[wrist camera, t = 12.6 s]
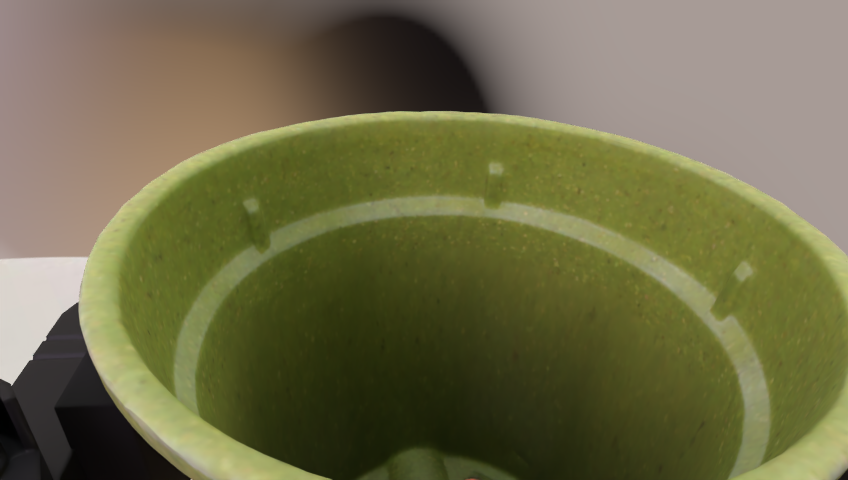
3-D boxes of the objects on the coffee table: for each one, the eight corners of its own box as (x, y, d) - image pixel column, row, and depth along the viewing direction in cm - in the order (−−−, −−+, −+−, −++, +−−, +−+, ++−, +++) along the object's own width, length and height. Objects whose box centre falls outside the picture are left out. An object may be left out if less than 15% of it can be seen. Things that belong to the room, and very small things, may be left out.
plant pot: (378, 365, 18) (374, 81, 13) (708, 506, 14) (857, 171, 9) (96, 670, 10) (-115, 274, 6) (617, 1140, 7) (1057, 980, 2)
